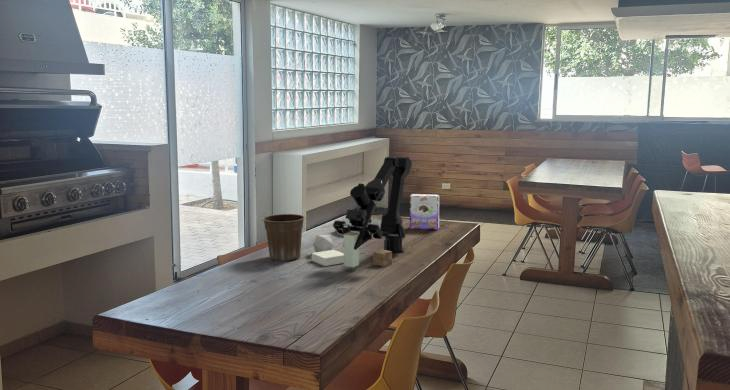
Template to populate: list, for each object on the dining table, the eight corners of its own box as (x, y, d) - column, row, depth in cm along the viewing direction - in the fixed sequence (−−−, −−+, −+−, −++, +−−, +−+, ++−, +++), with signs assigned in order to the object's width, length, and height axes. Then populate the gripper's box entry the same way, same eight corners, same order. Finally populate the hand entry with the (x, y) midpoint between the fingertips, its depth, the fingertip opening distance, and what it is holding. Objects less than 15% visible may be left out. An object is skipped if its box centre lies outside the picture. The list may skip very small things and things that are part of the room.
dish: (355, 226, 321) (355, 216, 320) (393, 231, 308) (393, 221, 307) (327, 234, 303) (327, 223, 302) (365, 240, 290) (365, 229, 289)
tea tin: (349, 263, 241) (349, 231, 239) (359, 264, 239) (358, 232, 237) (344, 266, 237) (343, 233, 235) (353, 267, 235) (353, 234, 233)
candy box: (439, 227, 316) (440, 194, 313) (438, 230, 310) (438, 196, 308) (411, 226, 319) (411, 193, 316) (409, 228, 313) (409, 195, 311)
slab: (333, 257, 257) (333, 249, 257) (347, 262, 249) (347, 254, 249) (311, 260, 252) (311, 253, 251) (324, 266, 244) (324, 258, 243)
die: (325, 259, 256) (338, 238, 258) (307, 248, 257) (320, 227, 259) (326, 262, 264) (339, 241, 266) (308, 251, 265) (321, 231, 267)
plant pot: (264, 263, 247) (263, 222, 245) (262, 254, 263) (261, 214, 260) (307, 261, 251) (306, 220, 248) (302, 252, 266) (302, 213, 264)
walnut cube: (381, 262, 250) (381, 249, 249) (391, 264, 247) (392, 251, 246) (373, 264, 246) (373, 251, 246) (383, 266, 243) (383, 253, 242)
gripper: (335, 199, 242) (319, 233, 235) (379, 202, 233) (363, 238, 225) (346, 216, 250) (331, 250, 243) (389, 220, 241) (374, 256, 233)
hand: (349, 248), depth 236 cm, fingers closed on tea tin, 4 cm apart
